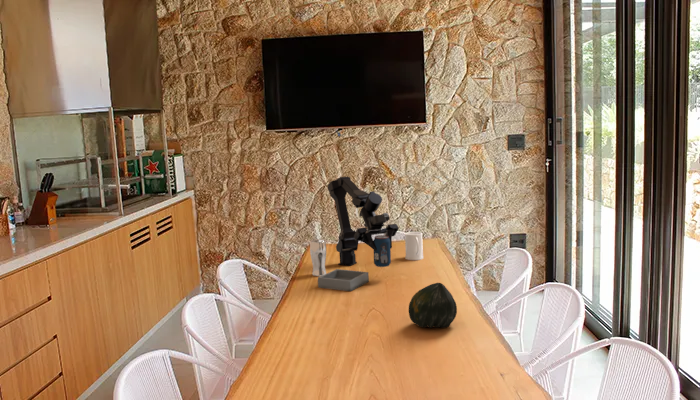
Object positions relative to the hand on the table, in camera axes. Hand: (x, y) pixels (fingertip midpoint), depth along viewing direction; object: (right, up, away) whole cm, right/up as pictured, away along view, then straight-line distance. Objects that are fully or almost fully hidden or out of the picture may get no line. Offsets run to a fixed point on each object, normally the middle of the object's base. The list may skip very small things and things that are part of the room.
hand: (383, 249), depth 251 cm
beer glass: (-27, -13, +16) cm, 34 cm away
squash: (+13, -20, -54) cm, 59 cm away
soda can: (0, -7, +2) cm, 7 cm away
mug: (+17, -8, +38) cm, 42 cm away
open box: (-16, -14, -1) cm, 22 cm away
